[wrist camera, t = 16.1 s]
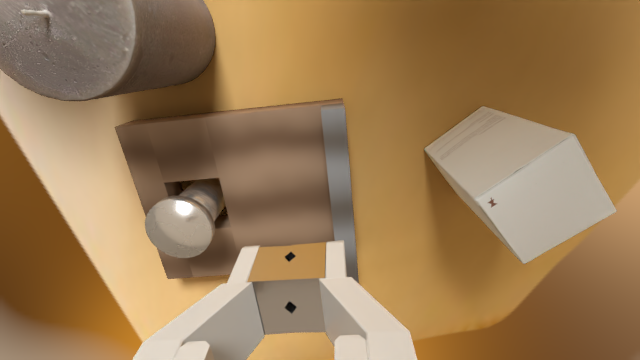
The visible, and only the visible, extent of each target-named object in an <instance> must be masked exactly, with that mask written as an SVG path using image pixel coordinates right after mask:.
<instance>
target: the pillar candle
mask: <svg viewBox="0 0 640 360" xmlns="http://www.w3.org/2000/svg"><path fill="white" fill-rule="evenodd" d="M214 47H215V29H214V24H213V20H212V17H211V14H210V12H209V10H208V8H207V6H206V4H205V3H204V1H203V0H0V69H1V70H2V71H3V72H4V73H5V74H7V75H8V76H10V77H11V78H12V79H14V80H15V81H16V82H18V83H19V84H20V85H22V86H24V87H25V88H27V89H30V90H31V91H34V92H35V93H38V94H40V95H43V96H46V97H50V98H54V99H59V100H63V101H86V100H91V99H98V98H103V97H109V96H114V95H119V94H125V93H130V92H137V91H144V90H149V89H156V88H161V87H167V86H171V85H179V84H183V83H186V82H189V81H191V80H193V79H195V78H196V77H198V76H199V75H200V74H201V73H202V72H203V71H204V70H205V69H206V67H207V66H208V64H209V62H210V61H211V58H212V56H213V52H214Z"/></svg>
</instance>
